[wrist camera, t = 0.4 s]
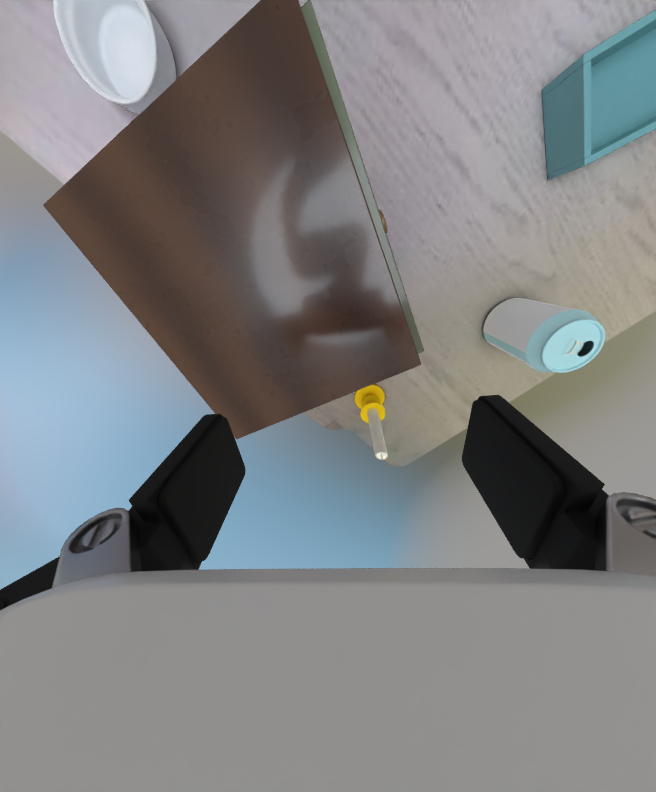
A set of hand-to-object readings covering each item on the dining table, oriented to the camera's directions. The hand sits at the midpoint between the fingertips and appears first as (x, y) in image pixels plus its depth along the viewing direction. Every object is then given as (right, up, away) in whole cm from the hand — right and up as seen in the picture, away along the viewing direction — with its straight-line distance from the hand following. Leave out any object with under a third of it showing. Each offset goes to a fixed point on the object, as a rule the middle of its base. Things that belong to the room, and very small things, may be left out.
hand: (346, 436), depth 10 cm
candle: (+7, +1, +34) cm, 35 cm away
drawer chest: (-4, +19, +25) cm, 31 cm away
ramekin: (-20, +36, +16) cm, 45 cm away
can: (+26, +12, +27) cm, 39 cm away
